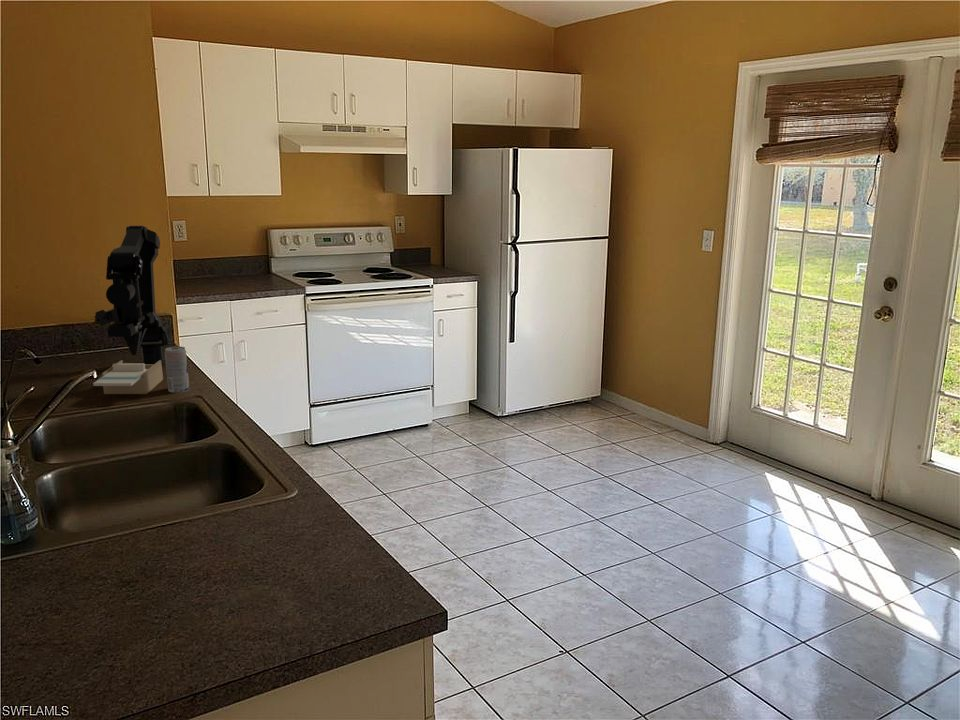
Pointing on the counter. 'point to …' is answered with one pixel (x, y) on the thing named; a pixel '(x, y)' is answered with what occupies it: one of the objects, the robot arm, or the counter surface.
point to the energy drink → (176, 369)
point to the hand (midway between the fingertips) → (134, 354)
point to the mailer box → (142, 385)
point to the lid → (122, 375)
